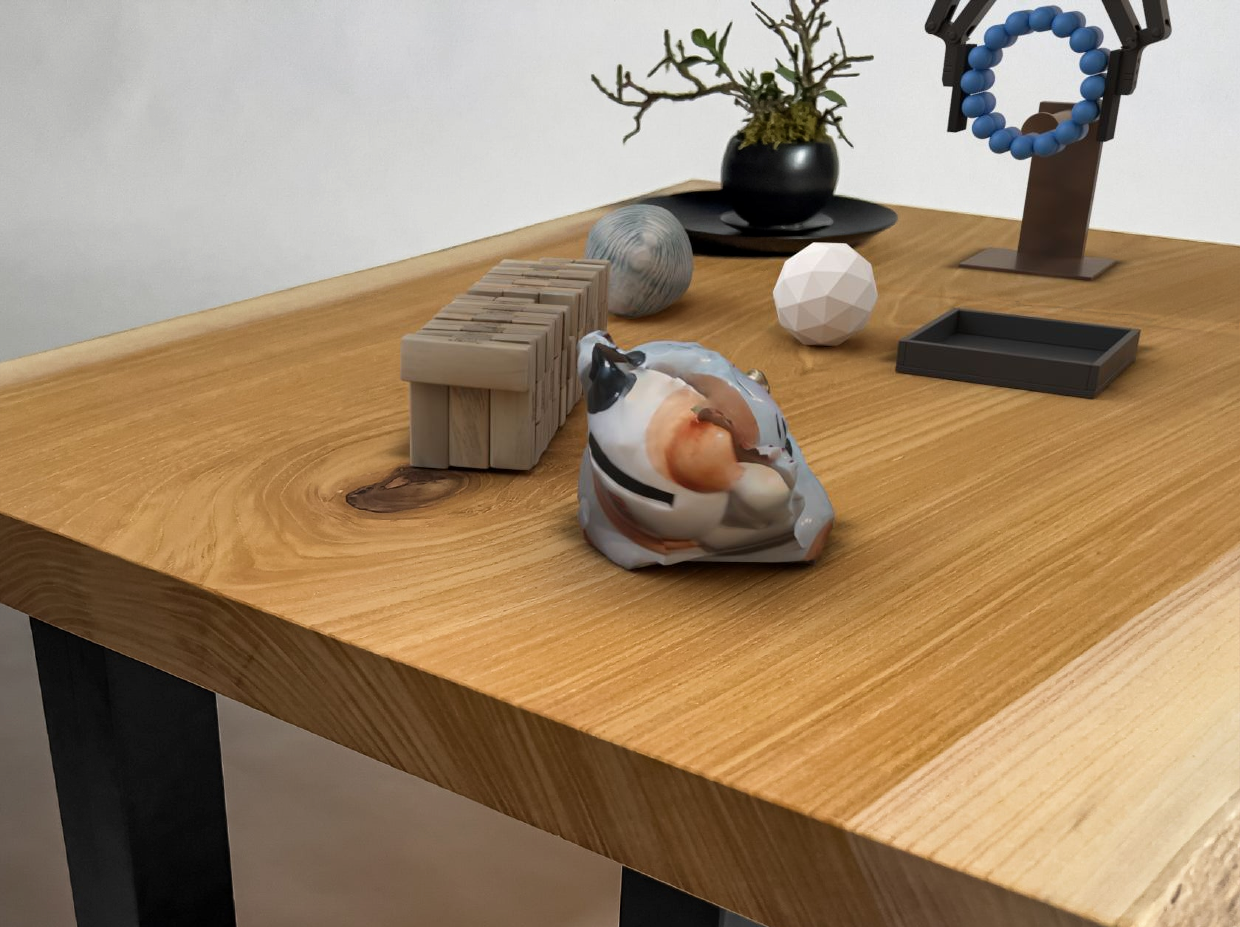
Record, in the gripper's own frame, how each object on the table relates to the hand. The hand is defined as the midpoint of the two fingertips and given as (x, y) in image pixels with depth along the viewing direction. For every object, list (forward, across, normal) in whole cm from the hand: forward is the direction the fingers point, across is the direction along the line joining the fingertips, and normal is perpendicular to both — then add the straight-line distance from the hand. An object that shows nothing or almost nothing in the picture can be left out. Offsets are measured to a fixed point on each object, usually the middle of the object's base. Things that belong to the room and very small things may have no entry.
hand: (1028, 135), depth 129 cm
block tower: (+14, -18, -50) cm, 55 cm away
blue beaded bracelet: (-4, 0, 0) cm, 4 cm away
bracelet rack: (+14, -2, +18) cm, 23 cm away
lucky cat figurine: (+14, +4, -67) cm, 69 cm away
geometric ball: (+14, -9, -19) cm, 26 cm away
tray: (+14, +6, -18) cm, 24 cm away
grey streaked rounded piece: (+14, -27, -16) cm, 34 cm away
